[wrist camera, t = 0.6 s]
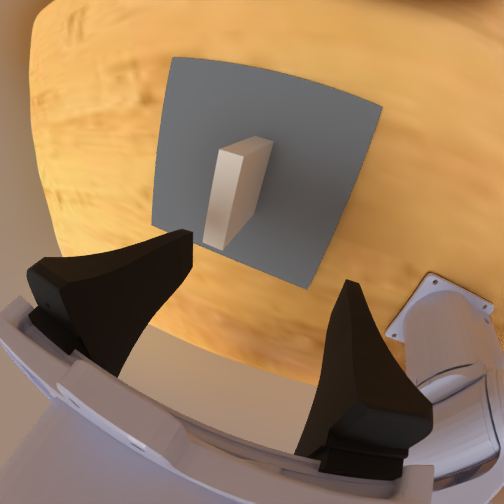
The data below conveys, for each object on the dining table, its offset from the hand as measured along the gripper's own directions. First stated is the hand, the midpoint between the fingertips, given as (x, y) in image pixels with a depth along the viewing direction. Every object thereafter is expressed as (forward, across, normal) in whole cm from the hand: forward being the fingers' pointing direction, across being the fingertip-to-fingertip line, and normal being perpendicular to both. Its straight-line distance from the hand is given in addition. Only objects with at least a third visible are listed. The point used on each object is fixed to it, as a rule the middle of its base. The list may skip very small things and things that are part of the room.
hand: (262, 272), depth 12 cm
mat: (+10, +5, -1) cm, 11 cm away
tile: (+10, +4, -1) cm, 10 cm away
